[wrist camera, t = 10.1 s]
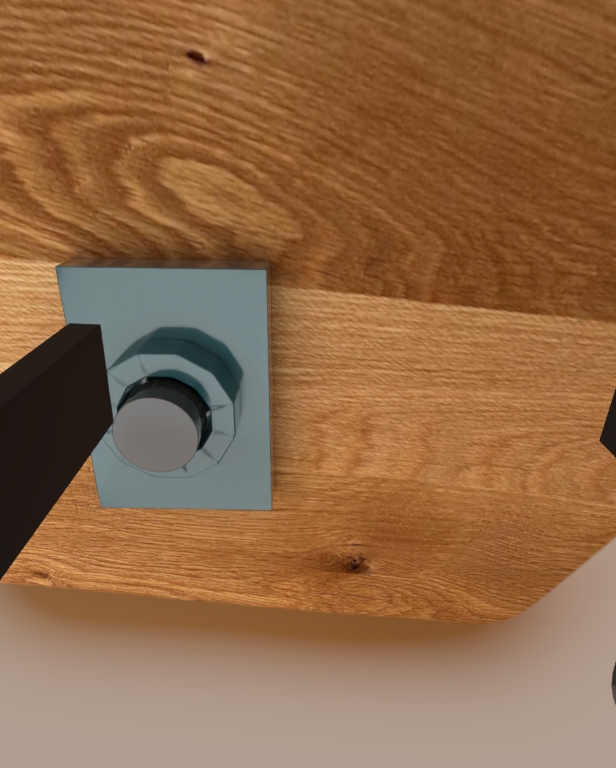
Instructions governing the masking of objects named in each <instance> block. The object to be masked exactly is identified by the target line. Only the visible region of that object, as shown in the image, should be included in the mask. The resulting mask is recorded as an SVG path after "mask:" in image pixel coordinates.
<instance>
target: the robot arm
mask: <svg viewBox="0 0 616 768" xmlns="http://www.w3.org/2000/svg"><path fill="white" fill-rule="evenodd" d="M113 423H114V421H113V413H112V406H111V398H110V391H109V383H108V376H107V369H106V361H105V354H104V346H103V339H102V331H101V324H77V323H69V324H68V325H66V326H65V327H64V328H62V329H61V330H60V331H58V332H57V333H56V334H54V335H53V336H51V337H50V338H49V339H47V340H46V341H45V342H43V343H42V344H41V345H39V346H38V347H37V348H35V349H34V350H32V351H31V352H30V353H28V354H27V355H26V356H24V357H23V358H22V359H20V360H19V361H17V362H16V363H15V364H13V365H12V366H11V367H9V368H8V369H7V370H5V371H4V372H3V373H1V374H0V580H1V578H2V577H3V576H4V574H5V573H6V571H7V570H8V569H9V567H10V566H11V564H12V563H13V562H14V560H15V559H16V558H17V556H18V555H19V553H20V552H21V551H22V549H23V548H24V546H25V545H26V544H27V542H28V541H29V539H30V538H31V537H32V535H33V534H34V532H35V531H36V530H37V528H38V527H39V526H40V524H41V523H42V521H43V520H44V519H45V517H46V516H47V514H48V513H49V512H50V510H51V509H52V507H53V506H54V505H55V503H56V502H57V500H58V499H59V498H60V496H61V495H62V494H63V492H64V491H65V489H66V488H67V487H68V485H69V484H70V482H71V481H72V480H73V478H74V477H75V475H76V474H77V473H78V471H79V470H80V468H81V467H82V466H83V464H84V463H85V462H86V460H87V459H88V457H89V456H90V455H91V453H92V452H93V450H94V449H95V448H96V446H97V445H98V443H99V442H100V441H101V439H102V438H103V436H104V435H105V434H106V432H107V431H108V429H109V428H110V427H111V425H112V424H113ZM599 441H600V442H601V443H602V444H603V445H604V446H605V447H606V448H607V449H608V450H609V451H610V452H611V453H612V454H613V455H614V456H615V457H616V389H615V392H614V396H613V399H612V402H611V405H610V408H609V412H608V415H607V418H606V421H605V424H604V428H603V431H602V434H601V437H600V440H599Z"/></svg>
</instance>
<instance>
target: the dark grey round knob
mask: <svg viewBox="0 0 616 768" xmlns="http://www.w3.org/2000/svg"><path fill="white" fill-rule="evenodd" d="M206 423H207V415H206V410H205V407H204V405H203V403H202V401H201V399H200V398H199V397H198V395H197V394H196V393H195V392H194V391H193V390H191V389H190V388H189V387H187V386H185V385H184V384H181V383H179V382H176V381H173V380H167V379H157V380H151V381H148V382H145V383H143V384H141V385H140V386H138V387H137V388H136V389H135V390H134V391H133V392H132V393H131V395H130V396H129V397H128V399H127V400H126V402H125V403H124V404H123V406H122V407H121V408H120V410H119V411H118V412H117V414H116V416H115V418H114V423H113V425H112V434H113V439H114V442H115V445H116V447H117V448H118V450H119V451H120V453H121V454H122V455H123V456H124V457H125V458H126V459H127V460H128V461H129V462H131V463H132V464H134V465H135V466H137V467H139V468H142V469H144V470H148V471H152V472H169V471H173V470H177V469H179V468H181V467H183V466H184V465H186V464H187V463H188V462H189V461H190V460H191V459H192V458H193V457H194V455H195V453H196V451H197V449H198V446H199V444H200V441H201V439H202V436H203V434H204V431H205V428H206Z"/></svg>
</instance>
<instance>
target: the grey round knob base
mask: <svg viewBox="0 0 616 768" xmlns="http://www.w3.org/2000/svg"><path fill="white" fill-rule="evenodd" d="M55 268H56V273H57V279H58V284H59V289H60V295H61V300H62V305H63V310H64V316H65V321H66V325H68V324H69V323H77V324H101V331H102V339H103V346H104V354H105V361H106V369H107V376H108V383H109V391H110V398H111V406H112V413H113V421H114V418H115V416H116V414H117V412H118V411H119V410H120V408H121V407H122V406H123V404H124V403H125V402H126V400H127V399H128V397H129V396H130V395H131V393H132V392H133V391H134V390H135V389H136V388H137V387H138V386H140V385H141V384H143V383H145V382H148V381H151V380H157V379H167V380H173V381H176V382H179V383H181V384H184V385H185V386H187V387H189V388H190V389H191V390H193V391H194V392H195V393H196V394H197V395H198V397H199V398H200V399H201V401H202V403H203V405H204V407H205V410H206V415H207V423H206V428H205V431H204V434H203V436H202V439H201V441H200V444H199V446H198V449H197V451H196V453H195V455H194V457H193V458H192V459H191V460H190V461H189V462H188V463H187V464H186V465H184V466H183V467H181V468H179V469H177V470H173V471H169V472H152V471H148V470H144V469H142V468H139V467H137V466H135V465H134V464H132V463H131V462H129V461H128V460H127V459H126V458H125V457H124V456H123V455H122V454H121V453H120V451H119V450H118V448H117V447H116V445H115V442H114V439H113V434H112V425H113V424H112V425H111V427H110V428H109V429H108V431H107V432H106V434H105V435H104V436H103V438H102V439H101V441H100V442H99V443H98V445H97V446H96V448H95V449H94V450H93V452H92V453H91V459H92V464H93V470H94V475H95V480H96V486H97V491H98V496H99V501H100V507H103V508H160V509H217V510H272V508H273V499H274V491H275V485H274V431H273V378H272V325H271V272H270V261H244V260H171V259H99V258H72V259H70V260H68V261H66V262H64V263H62V264H60V265H57V266H56V267H55Z"/></svg>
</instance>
